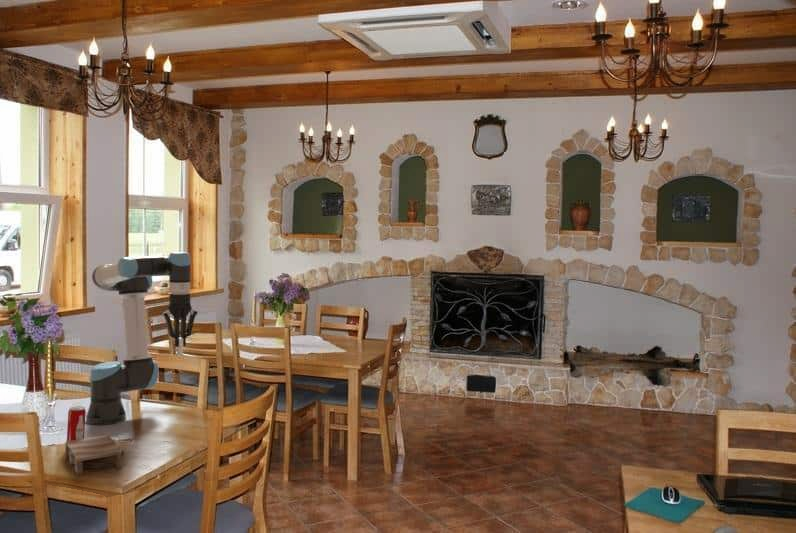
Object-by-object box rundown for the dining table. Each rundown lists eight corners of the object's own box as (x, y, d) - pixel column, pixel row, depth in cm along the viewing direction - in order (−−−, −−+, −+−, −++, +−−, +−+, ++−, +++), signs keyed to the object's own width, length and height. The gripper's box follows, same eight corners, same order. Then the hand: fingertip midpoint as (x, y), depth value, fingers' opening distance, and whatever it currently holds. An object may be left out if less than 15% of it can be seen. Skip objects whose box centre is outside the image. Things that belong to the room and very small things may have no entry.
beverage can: (66, 446, 252) (66, 406, 251) (86, 444, 254) (85, 405, 253) (66, 452, 246) (65, 410, 245) (85, 450, 249) (85, 409, 248)
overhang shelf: (65, 458, 240) (65, 441, 240) (108, 451, 248) (108, 434, 248) (77, 477, 224) (77, 459, 223) (122, 468, 232) (122, 451, 231)
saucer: (119, 469, 231) (119, 461, 231) (72, 472, 229) (72, 464, 228) (127, 454, 246) (127, 447, 246) (83, 456, 243) (83, 449, 243)
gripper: (165, 295, 252) (165, 358, 254) (200, 293, 260) (200, 355, 261) (159, 293, 258) (159, 355, 260) (193, 291, 266) (193, 351, 268)
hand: (180, 355), depth 261 cm, fingers closed
